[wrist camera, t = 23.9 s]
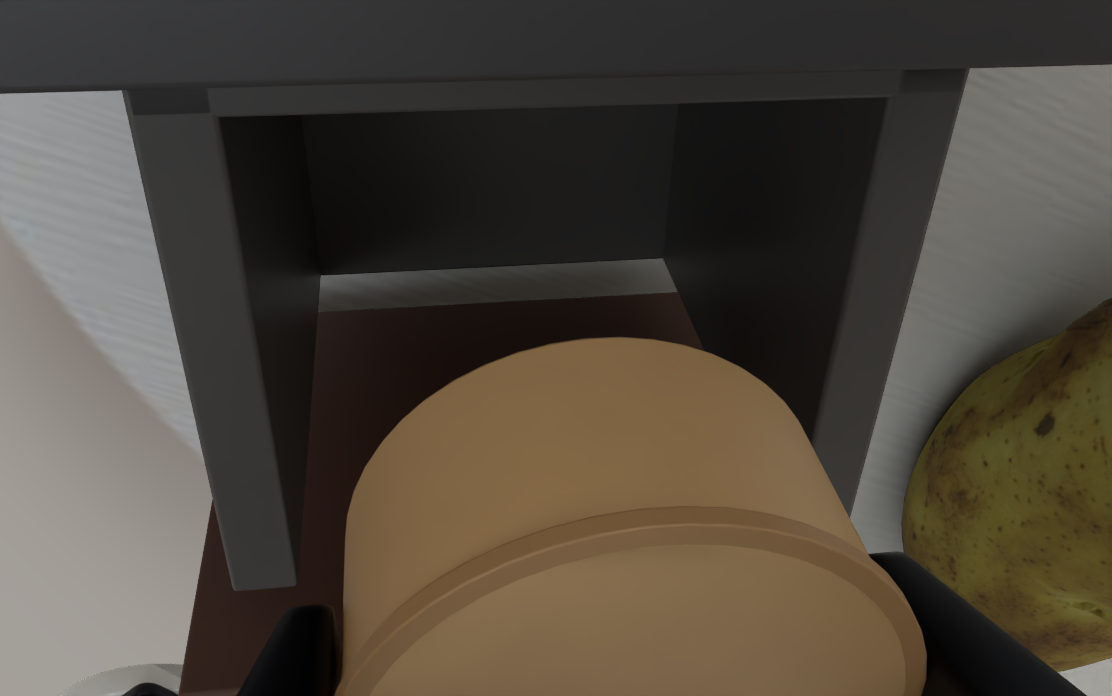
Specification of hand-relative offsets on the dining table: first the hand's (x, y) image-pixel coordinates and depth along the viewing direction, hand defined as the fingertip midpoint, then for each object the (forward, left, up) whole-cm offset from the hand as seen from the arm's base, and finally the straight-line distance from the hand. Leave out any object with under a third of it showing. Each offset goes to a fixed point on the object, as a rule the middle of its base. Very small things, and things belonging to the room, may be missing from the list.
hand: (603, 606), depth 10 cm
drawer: (-2, -2, -11) cm, 12 cm away
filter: (0, 0, -1) cm, 1 cm away
